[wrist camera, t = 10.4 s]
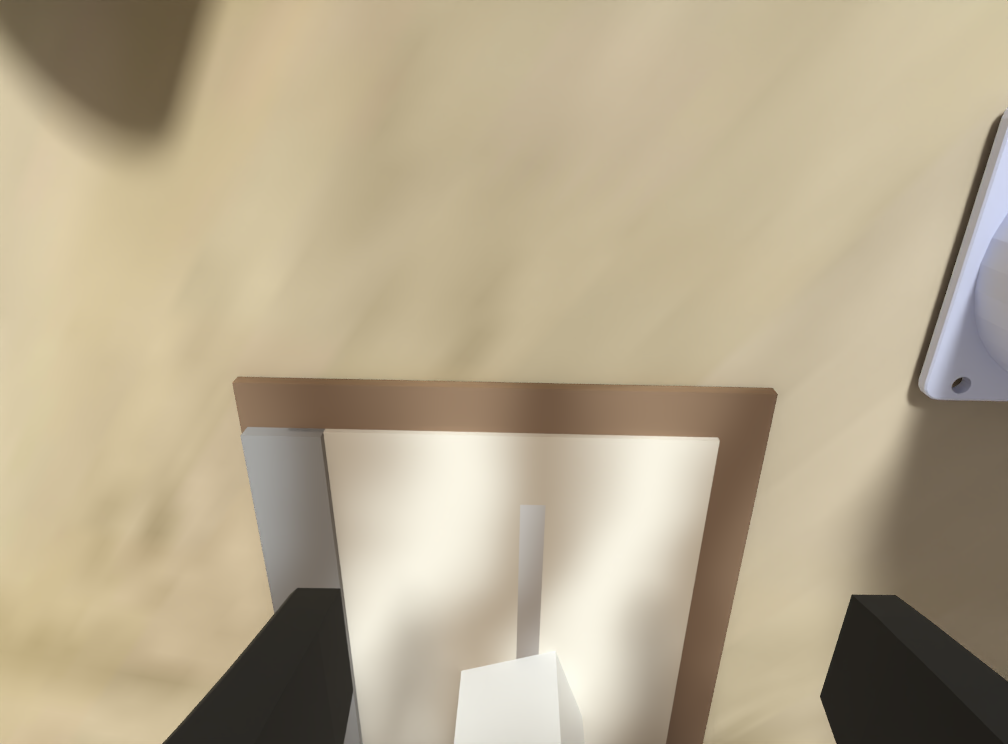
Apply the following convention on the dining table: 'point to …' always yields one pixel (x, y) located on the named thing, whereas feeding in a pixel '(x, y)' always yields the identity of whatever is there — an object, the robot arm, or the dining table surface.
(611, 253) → the dining table surface
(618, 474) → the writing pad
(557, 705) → the long rectangular beam
